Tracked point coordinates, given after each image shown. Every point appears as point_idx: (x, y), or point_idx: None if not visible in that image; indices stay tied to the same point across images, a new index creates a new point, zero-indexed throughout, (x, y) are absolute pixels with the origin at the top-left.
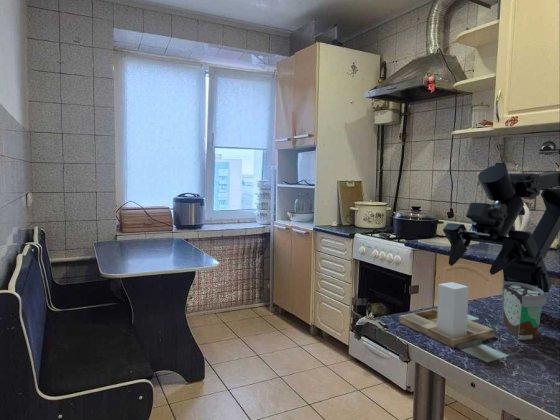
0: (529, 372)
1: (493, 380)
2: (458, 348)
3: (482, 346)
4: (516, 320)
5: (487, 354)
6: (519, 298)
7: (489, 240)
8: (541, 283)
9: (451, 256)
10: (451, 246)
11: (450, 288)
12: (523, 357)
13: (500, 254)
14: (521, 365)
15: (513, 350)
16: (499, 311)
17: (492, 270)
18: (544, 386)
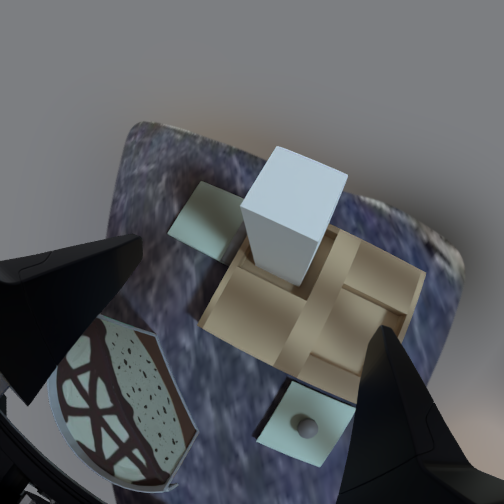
0: (141, 199)
1: (191, 142)
2: None
3: (217, 246)
4: (142, 354)
5: (203, 212)
6: (102, 342)
7: (71, 484)
8: None
9: (397, 356)
10: (442, 425)
11: (294, 152)
12: (146, 256)
13: (42, 266)
14: (150, 218)
15: (162, 282)
16: None
17: (126, 235)
18: (129, 169)
